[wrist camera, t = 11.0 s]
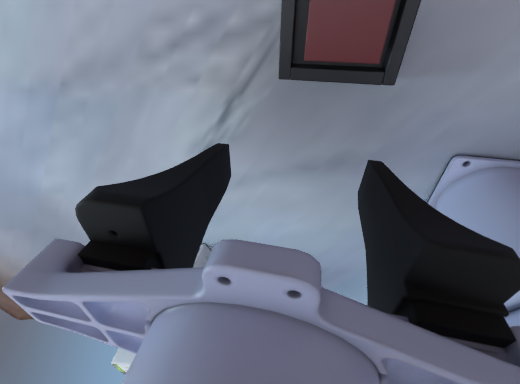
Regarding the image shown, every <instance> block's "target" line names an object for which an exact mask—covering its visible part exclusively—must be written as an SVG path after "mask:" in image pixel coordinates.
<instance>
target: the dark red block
mask: <svg viewBox="0 0 520 384" xmlns="http://www.w3.org/2000/svg"><path fill="white" fill-rule="evenodd" d="M395 3H396V0H310V3H309V13H308V23H307V34H306V44H305V54H304V60H305V61H323V62H345V63H367V64H379V63H380V59H381V55H382V51H383V48H384V44H385V40H386V36H387V33H388V29H389V25H390V21H391V18H392V14H393V10H394V6H395Z"/></svg>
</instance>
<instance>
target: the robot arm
mask: <svg viewBox="0 0 520 384" xmlns="http://www.w3.org/2000/svg"><path fill="white" fill-rule="evenodd" d="M466 161H468V163H466V164H463V163H464V162H466ZM230 178H231V167H230V153H229V144H220V143H218V144H215V145H213V146H212V147H210V148H208V149H207V150H205V151H203V152H201V153H200V154H198V155H196V156H195V157H193V158H191V159H189V160H187V161H185V162H183V163H181V164H179V165H177V166H175V167H173V168H170V169H168V170H165V171H163V172H160V173H157V174H154V175H151V176H148V177H145V178H141V179H137V180H133V181H128V182H123V183H118V184H111V185H105V186H97V187H96V188H95V189H94V190H93V191H91V192H90V193H89V194H88V195H87V196H86V197H85V198H84V199H82V200H81V201H80V202H79V203H78V204H77V206H76V208H75V210H76V216H77V218H78V221H79V222H80V224H81V226H82V227H83V229H84V231H85V232H86V234H87V235H88V237H89V239H90V240H91V241H90V242H89V243H88V244H87V245H86V246H84V245H82V244H81V243H78V242H74V241H69V240H63V239H54V240H53V241H52V242H51V243H50V244H49V245H48V246H47V247H46V248H45V249H44V250H42V251H41V252H40V253H39V254H38V255H37V256H36V257H35V258H34V259H33V260H32V261H31V262H30V263H29V264H27V265H26V266H25V267H24V268H23V269H22V270H21V271H20V272H19V273H18V274H17V275H16V276H15V277H14V278H13V279H11V280H10V281H9V282H8V283H7V284H6V285H5V286H4V287H3V288H2V291H3V292H4V293H5V294H6V295H8V296H9V297H10V298H11V299H12V300H13V301H15V302H16V303H17V304H18V305H19V306H20V307H21V308H23V309H24V310H25V311H26V312H27V313H28V314H30V315H31V316H32V317H33V318H34V319H35V320H36V321H38V322H40V323H44V324H48V325H51V326H55V327H59V328H62V329H66V330H69V331H72V332H75V333H78V334H81V335H84V336H87V337H90V338H93V339H96V340H98V341H101V342H104V343H106V344H109V345H112V346H115V347H118V348H120V349H123V350H126V351H128V352H131V353H134V354H136V356H135V358H134V360H133V361H132V363H131V365H130V367H129V369H128V371H127V373H126V375H125V377H124V379H123V381H122V383H121V384H520V161H514V160H503V159H492V158H482V157H471V156H456V157H454V158H452V160H451V161H450V163H449V165H448V166H447V168H446V170H445V172H444V174H443V176H442V178H441V179H440V181H439V183H438V185H437V187H436V189H435V190H434V192H433V194H432V196H431V198H430V200H429V201H428V203H426V202H425V201H424V200H422V199H421V198H420V197H418V196H417V195H416V194H415V193H414V192H413V191H411V190H410V189H409V188H408V187H407V186H406V185H405V184H404V183H403V182H402V181H401V180H400V179H399V178H398V177H397V176H396V175H395V174H394V173H393V172H392V171H391V170H390V169H389V168H388V167H387V166H386V165H385V164H384V163H383V162H381V161H373V160H368V163H367V166H366V169H365V172H364V175H363V178H362V181H361V184H360V188H359V191H358V209H359V215H360V221H361V226H362V231H363V237H364V242H365V249H366V263H367V289H368V306H367V305H364V304H362V303H359V302H357V301H355V300H352V299H350V298H347V297H345V296H342V295H340V294H337V293H335V292H332V291H330V290H327V289H325V288H323V287H321V267H320V263H319V262H318V261H317V260H316V259H315V258H314V257H313V256H311V255H310V254H308V253H305V252H302V251H299V250H296V249H290V248H284V247H278V246H272V245H266V244H261V243H255V242H249V241H243V240H237V239H236V240H222V241H220V242H218V243H216V244H215V245H214V246H213V249H212V251H211V253H210V256H209V258H208V260H207V262H206V265H205V267H200V268H193V266H194V263H195V260H196V257H197V254H198V251H199V248H200V245H201V243H202V240H203V237H204V235H205V232H206V229H207V227H208V224H209V222H210V220H211V218H212V216H213V214H214V212H215V211H216V209H217V207H218V205H219V203H220V201H221V199H222V197H223V195H224V193H225V191H226V189H227V186H228V184H229V181H230Z"/></svg>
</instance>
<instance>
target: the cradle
mask: <svg viewBox="0 0 520 384" xmlns="http://www.w3.org/2000/svg"><path fill="white" fill-rule="evenodd" d="M420 2H421V0H396V3H395V6H394V10H393V14H392V18H391V21H390V25H389V29H388V33H387V36H386V40H385V44H384V48H383V51H382V55H381V59H380V63H379V64H367V63H345V62H323V61H305V60H304V54H305V44H306V34H307V23H308V13H309V3H310V0H282V12H281V35H280V58H279V79H287V80H304V81H321V82H339V83H356V84H373V85H381V84H382V85H394V84H395V82H396V78H397V75H398V72H399V69H400V66H401V62H402V59H403V56H404V53H405V50H406V47H407V43H408V40H409V37H410V34H411V31H412V28H413V24H414V21H415V18H416V15H417V12H418V8H419V5H420Z"/></svg>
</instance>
